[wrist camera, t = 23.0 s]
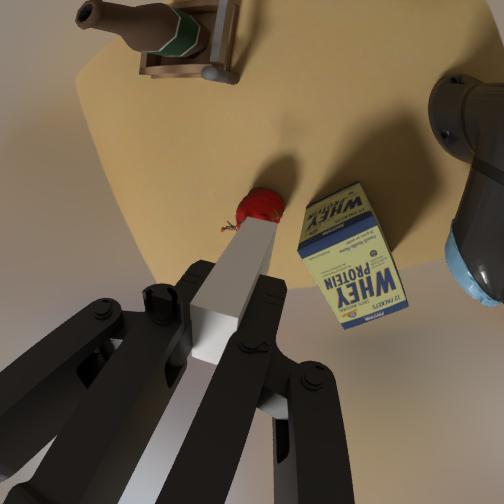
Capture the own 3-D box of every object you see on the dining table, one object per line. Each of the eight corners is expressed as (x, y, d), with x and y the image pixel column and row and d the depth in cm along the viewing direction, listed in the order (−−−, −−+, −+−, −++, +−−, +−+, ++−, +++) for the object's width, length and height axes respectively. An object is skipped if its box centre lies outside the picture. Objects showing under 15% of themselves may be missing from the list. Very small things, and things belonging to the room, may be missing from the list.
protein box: (358, 178, 41) (373, 213, 28) (392, 253, 46) (410, 308, 33) (304, 205, 46) (294, 250, 33) (343, 274, 50) (344, 332, 37)
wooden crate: (250, 6, 30) (229, -17, 21) (238, 85, 38) (214, 79, 29) (165, 12, 32) (130, 0, 23) (155, 83, 40) (118, 83, 31)
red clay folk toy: (255, 228, 50) (230, 274, 38) (236, 195, 48) (202, 232, 35) (292, 212, 47) (278, 256, 34) (273, 177, 45) (250, 208, 32)
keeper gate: (226, -3, 25) (215, -13, 21) (234, -3, 25) (224, -14, 21) (216, 63, 31) (203, 59, 27) (224, 63, 31) (212, 59, 27)
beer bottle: (167, 31, 33) (60, 7, 13) (207, 15, 31) (111, -33, 11) (174, 66, 37) (63, 59, 16) (216, 52, 34) (116, 21, 14)
